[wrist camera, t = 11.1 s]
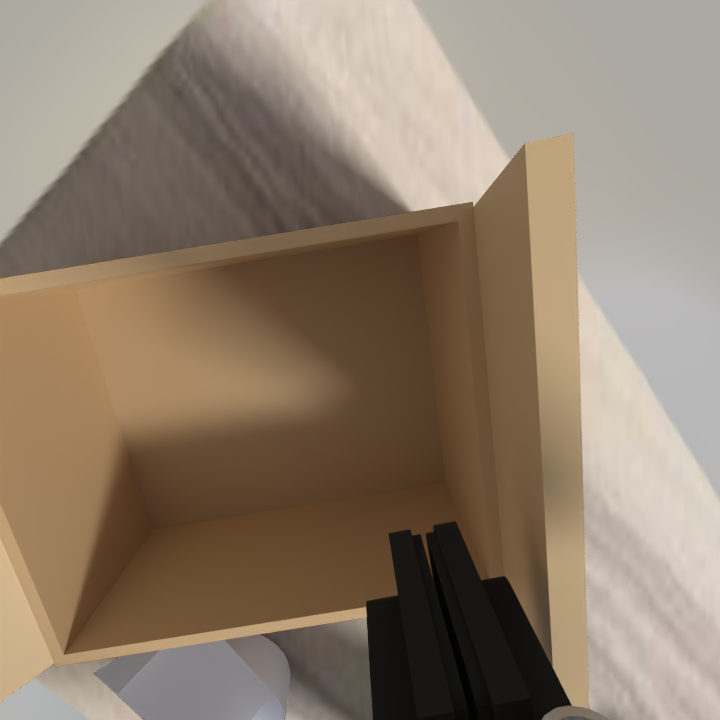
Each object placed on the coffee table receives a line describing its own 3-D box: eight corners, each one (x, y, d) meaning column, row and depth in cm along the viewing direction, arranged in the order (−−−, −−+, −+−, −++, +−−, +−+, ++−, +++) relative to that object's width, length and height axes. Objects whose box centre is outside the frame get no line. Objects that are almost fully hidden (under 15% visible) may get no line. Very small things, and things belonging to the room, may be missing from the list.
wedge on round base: (119, 630, 31) (223, 733, 34) (60, 727, 25) (195, 844, 28) (213, 573, 31) (312, 684, 33) (177, 658, 24) (304, 787, 27)
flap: (505, 591, 20) (518, 592, 20) (567, 945, 10) (595, 951, 10) (473, 207, 15) (489, 204, 15) (524, 143, 6) (573, 132, 5)
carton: (452, 484, 29) (506, 595, 20) (150, 532, 29) (55, 666, 20) (423, 224, 25) (472, 201, 15) (69, 281, 25) (-104, 295, 15)
